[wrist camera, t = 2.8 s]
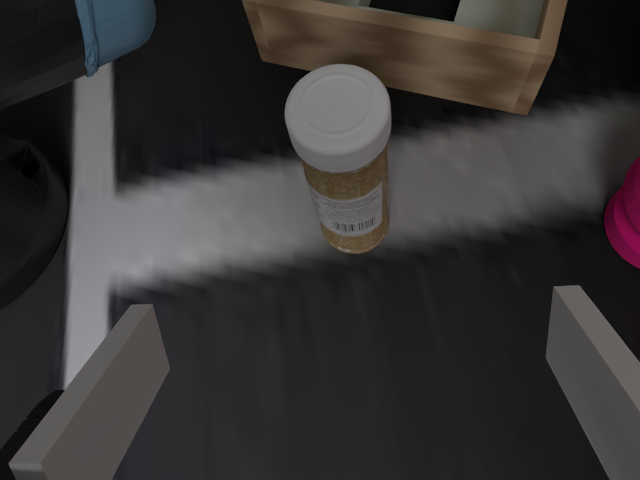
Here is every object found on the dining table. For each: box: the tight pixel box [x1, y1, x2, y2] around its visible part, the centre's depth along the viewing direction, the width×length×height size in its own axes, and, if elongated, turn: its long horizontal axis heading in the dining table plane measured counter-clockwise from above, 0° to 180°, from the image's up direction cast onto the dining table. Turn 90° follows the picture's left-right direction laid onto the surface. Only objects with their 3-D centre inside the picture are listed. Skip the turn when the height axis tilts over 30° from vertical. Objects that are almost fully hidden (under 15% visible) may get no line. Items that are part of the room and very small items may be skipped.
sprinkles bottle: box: [285, 64, 391, 254], centre depth 27 cm, size 5×5×13 cm
